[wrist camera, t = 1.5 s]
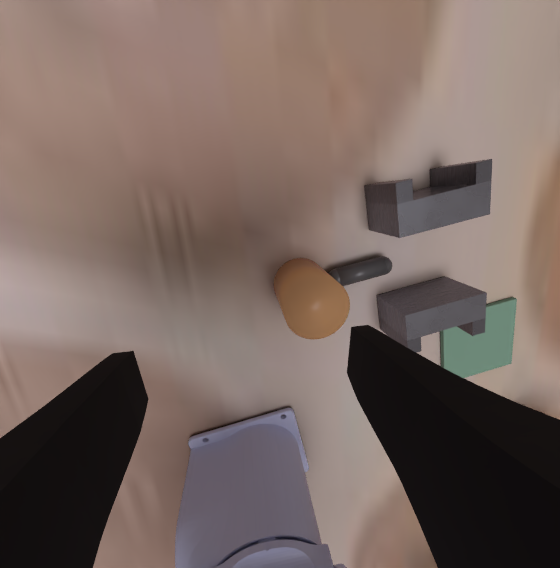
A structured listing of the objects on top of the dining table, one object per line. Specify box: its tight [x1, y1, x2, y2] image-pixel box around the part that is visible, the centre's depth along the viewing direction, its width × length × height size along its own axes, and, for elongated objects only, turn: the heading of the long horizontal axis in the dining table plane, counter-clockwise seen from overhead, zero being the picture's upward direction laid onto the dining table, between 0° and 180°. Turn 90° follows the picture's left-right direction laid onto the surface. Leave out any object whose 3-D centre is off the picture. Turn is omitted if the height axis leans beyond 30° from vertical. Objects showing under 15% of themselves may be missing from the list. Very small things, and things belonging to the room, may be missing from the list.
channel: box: [364, 159, 492, 352], centre depth 19 cm, size 6×12×4 cm, turn 13°
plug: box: [274, 256, 392, 339], centre depth 18 cm, size 9×4×5 cm, turn 103°
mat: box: [440, 297, 517, 378], centre depth 25 cm, size 7×7×1 cm
